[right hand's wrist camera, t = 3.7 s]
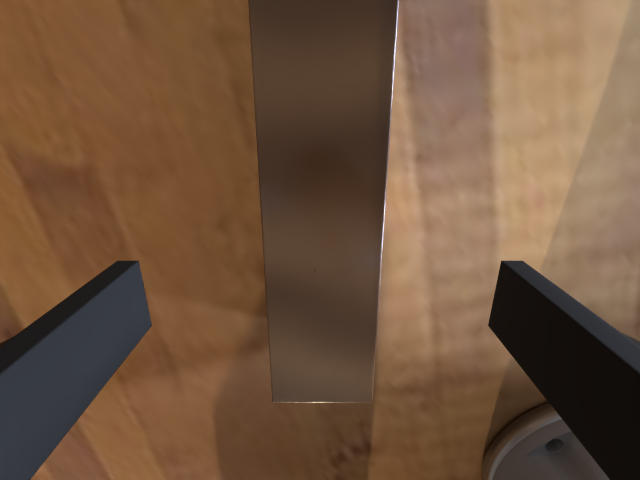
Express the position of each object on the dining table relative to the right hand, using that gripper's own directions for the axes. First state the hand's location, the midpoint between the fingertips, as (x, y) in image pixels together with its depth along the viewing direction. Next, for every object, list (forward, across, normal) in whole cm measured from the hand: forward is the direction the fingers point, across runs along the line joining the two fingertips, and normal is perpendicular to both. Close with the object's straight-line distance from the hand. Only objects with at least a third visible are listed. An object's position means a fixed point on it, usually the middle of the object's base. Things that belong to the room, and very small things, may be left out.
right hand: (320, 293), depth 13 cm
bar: (+11, 0, -18) cm, 21 cm away
